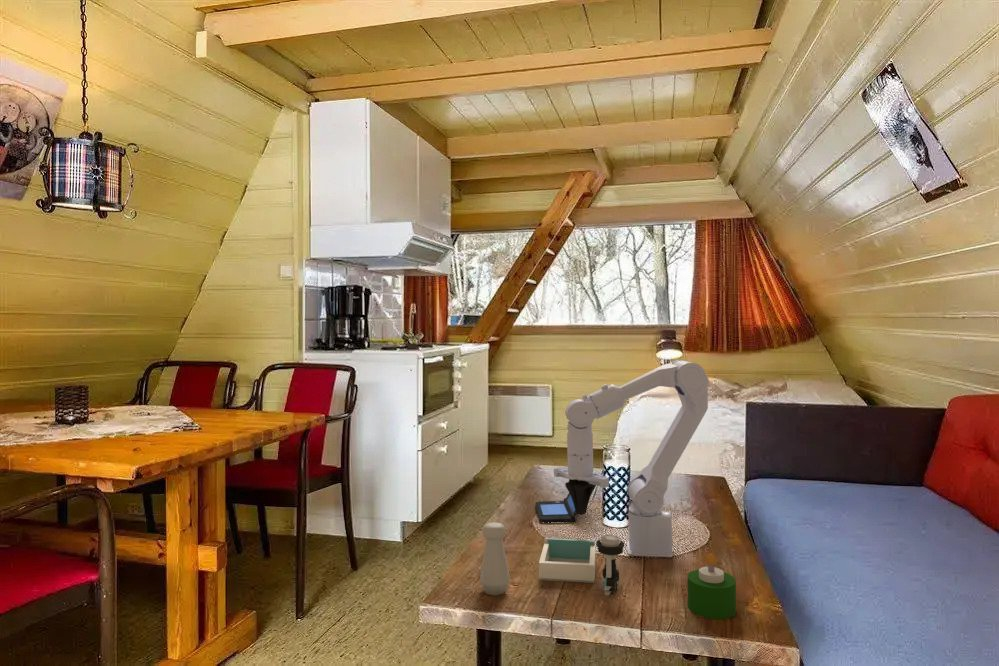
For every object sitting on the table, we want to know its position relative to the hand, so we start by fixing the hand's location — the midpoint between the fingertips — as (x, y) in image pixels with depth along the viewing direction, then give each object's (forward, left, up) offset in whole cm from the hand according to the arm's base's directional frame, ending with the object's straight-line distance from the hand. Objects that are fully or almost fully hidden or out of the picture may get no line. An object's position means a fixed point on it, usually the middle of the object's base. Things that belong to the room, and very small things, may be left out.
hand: (581, 513), depth 142 cm
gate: (+2, +5, -8) cm, 10 cm away
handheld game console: (+6, -26, -9) cm, 29 cm away
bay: (+2, +11, -8) cm, 14 cm away
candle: (-24, +25, -9) cm, 36 cm away
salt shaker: (+16, +23, -9) cm, 29 cm away
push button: (-6, +20, -9) cm, 23 cm away
